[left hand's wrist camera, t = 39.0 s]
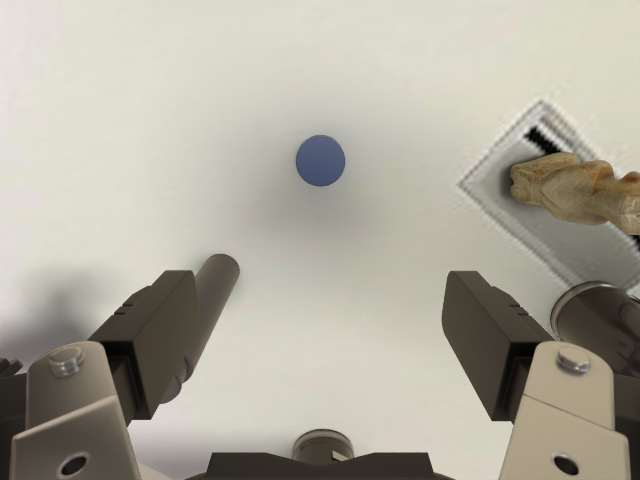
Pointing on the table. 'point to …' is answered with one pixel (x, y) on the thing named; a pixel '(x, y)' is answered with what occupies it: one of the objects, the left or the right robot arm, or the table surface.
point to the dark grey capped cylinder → (206, 313)
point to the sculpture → (579, 191)
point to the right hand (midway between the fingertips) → (46, 410)
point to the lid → (320, 160)
